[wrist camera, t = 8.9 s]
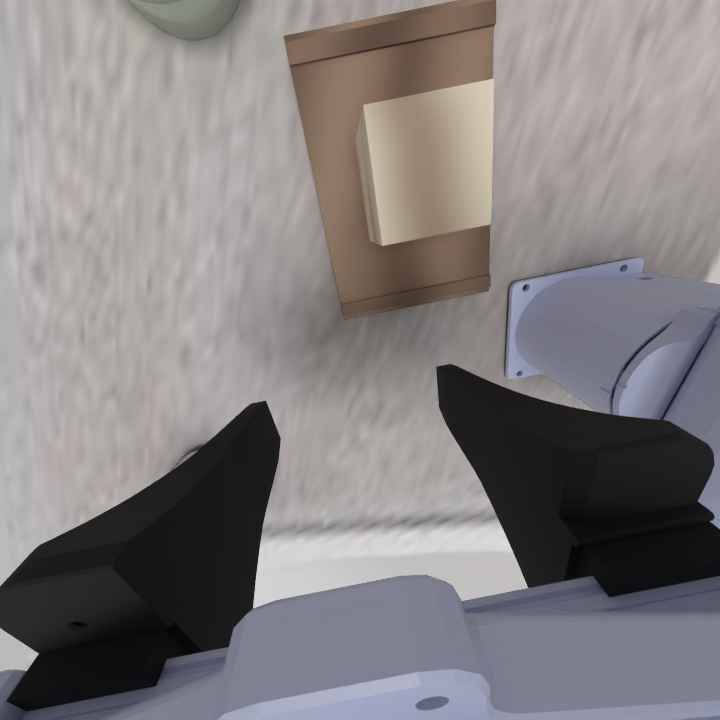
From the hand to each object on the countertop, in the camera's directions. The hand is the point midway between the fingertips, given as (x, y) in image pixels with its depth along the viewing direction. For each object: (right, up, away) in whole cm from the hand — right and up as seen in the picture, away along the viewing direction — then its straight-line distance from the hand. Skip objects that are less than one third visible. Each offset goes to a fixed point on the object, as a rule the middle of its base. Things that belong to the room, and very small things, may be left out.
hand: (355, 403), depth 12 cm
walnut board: (+3, +12, +5) cm, 14 cm away
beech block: (+3, +12, +4) cm, 13 cm away
